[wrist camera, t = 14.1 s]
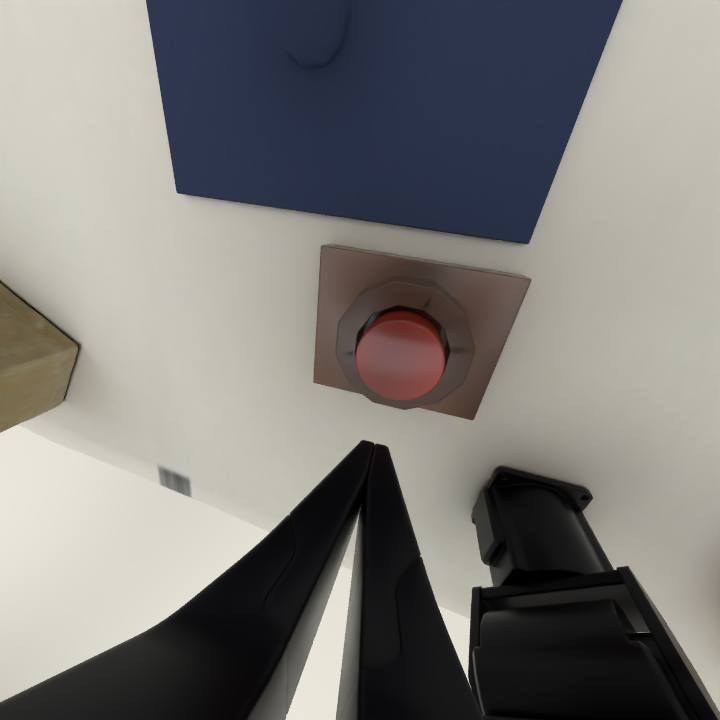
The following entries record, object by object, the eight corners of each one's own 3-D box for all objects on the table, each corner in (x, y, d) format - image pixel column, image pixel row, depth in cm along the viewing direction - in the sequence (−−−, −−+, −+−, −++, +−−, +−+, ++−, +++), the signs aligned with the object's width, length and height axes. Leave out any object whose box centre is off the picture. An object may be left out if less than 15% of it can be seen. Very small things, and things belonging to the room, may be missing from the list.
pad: (684, -175, 8) (702, -203, 8) (525, 243, 14) (529, 244, 13) (133, -145, 11) (118, -164, 11) (184, 194, 17) (176, 192, 16)
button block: (523, 275, 14) (546, 286, 12) (470, 408, 19) (478, 440, 16) (328, 243, 16) (308, 246, 13) (319, 373, 20) (302, 396, 17)
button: (453, 319, 13) (456, 330, 12) (431, 391, 16) (431, 409, 14) (368, 303, 14) (361, 312, 13) (358, 374, 16) (350, 389, 15)
